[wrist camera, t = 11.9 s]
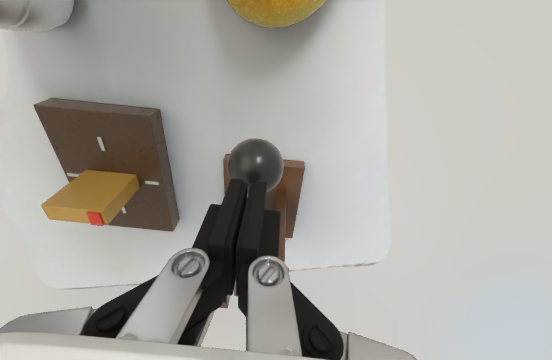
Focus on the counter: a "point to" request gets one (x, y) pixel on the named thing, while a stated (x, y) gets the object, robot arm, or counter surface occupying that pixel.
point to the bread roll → (275, 11)
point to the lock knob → (92, 197)
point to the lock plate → (116, 154)
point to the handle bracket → (280, 201)
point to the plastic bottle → (34, 14)
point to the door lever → (256, 164)
